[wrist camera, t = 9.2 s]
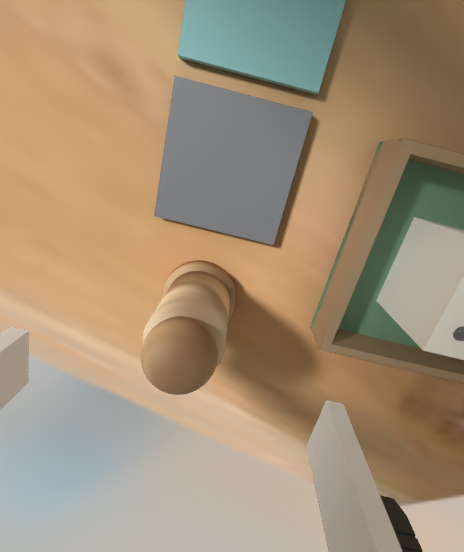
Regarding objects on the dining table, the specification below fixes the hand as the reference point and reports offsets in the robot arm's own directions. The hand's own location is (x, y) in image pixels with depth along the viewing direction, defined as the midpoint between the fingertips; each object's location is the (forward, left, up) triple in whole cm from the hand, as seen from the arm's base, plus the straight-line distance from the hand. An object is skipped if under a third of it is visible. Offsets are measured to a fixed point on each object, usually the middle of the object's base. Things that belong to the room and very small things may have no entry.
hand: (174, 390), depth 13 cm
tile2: (0, +18, -10) cm, 21 cm away
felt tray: (+15, +6, -10) cm, 19 cm away
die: (+15, +6, -9) cm, 18 cm away
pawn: (0, 0, -10) cm, 10 cm away
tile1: (0, +9, -10) cm, 13 cm away
